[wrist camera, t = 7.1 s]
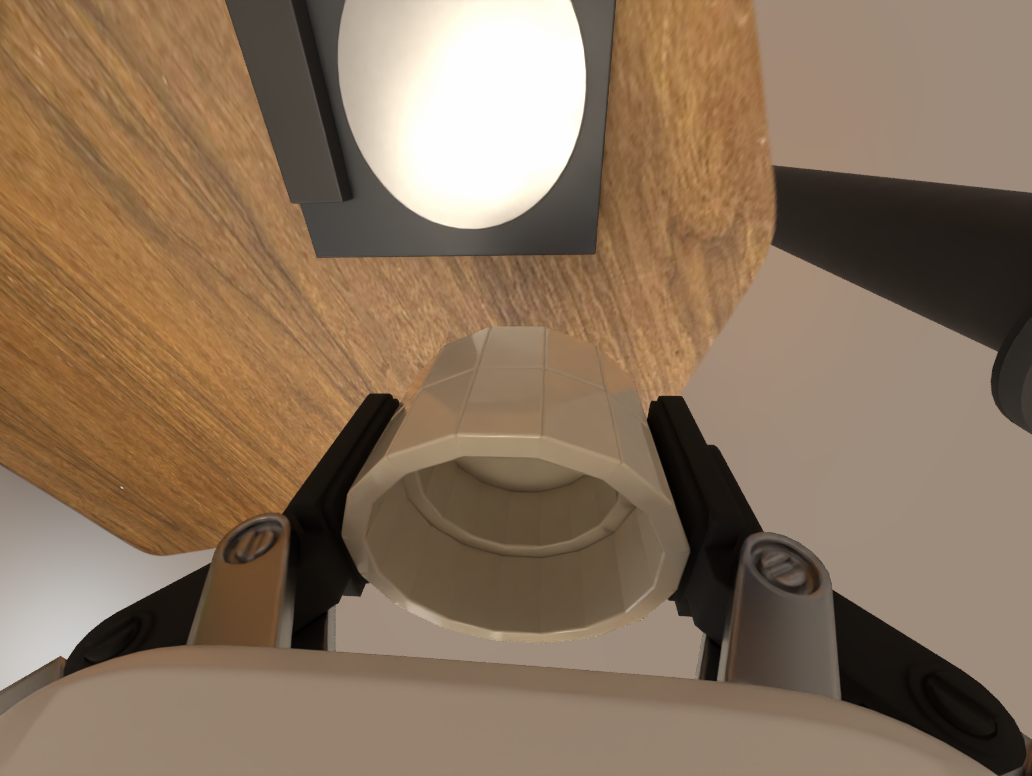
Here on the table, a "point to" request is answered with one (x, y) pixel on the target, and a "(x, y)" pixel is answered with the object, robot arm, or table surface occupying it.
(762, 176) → the table surface
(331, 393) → the table surface
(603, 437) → the bowl
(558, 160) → the scale
